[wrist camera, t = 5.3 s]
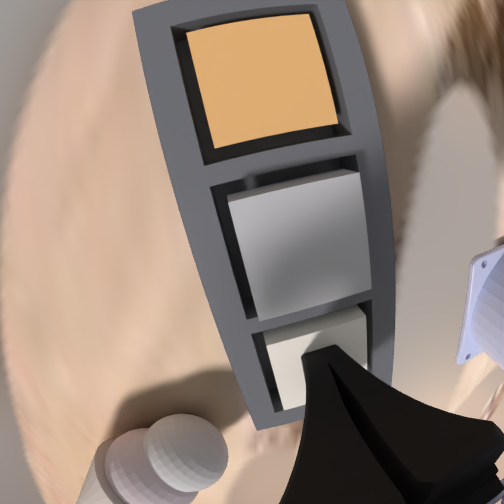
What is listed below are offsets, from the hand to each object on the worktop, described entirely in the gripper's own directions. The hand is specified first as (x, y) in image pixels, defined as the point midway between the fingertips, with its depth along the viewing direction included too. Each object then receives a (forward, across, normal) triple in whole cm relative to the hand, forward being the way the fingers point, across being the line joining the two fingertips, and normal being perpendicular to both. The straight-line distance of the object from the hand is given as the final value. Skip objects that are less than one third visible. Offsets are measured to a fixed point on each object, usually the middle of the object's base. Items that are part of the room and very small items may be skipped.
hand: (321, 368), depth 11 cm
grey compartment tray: (+3, 0, -5) cm, 6 cm away
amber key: (+1, 0, -10) cm, 10 cm away
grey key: (+1, 0, -5) cm, 5 cm away
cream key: (+1, 0, 0) cm, 1 cm away
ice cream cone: (+4, +12, +8) cm, 15 cm away
